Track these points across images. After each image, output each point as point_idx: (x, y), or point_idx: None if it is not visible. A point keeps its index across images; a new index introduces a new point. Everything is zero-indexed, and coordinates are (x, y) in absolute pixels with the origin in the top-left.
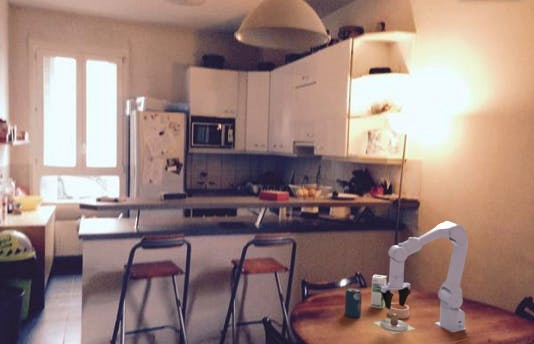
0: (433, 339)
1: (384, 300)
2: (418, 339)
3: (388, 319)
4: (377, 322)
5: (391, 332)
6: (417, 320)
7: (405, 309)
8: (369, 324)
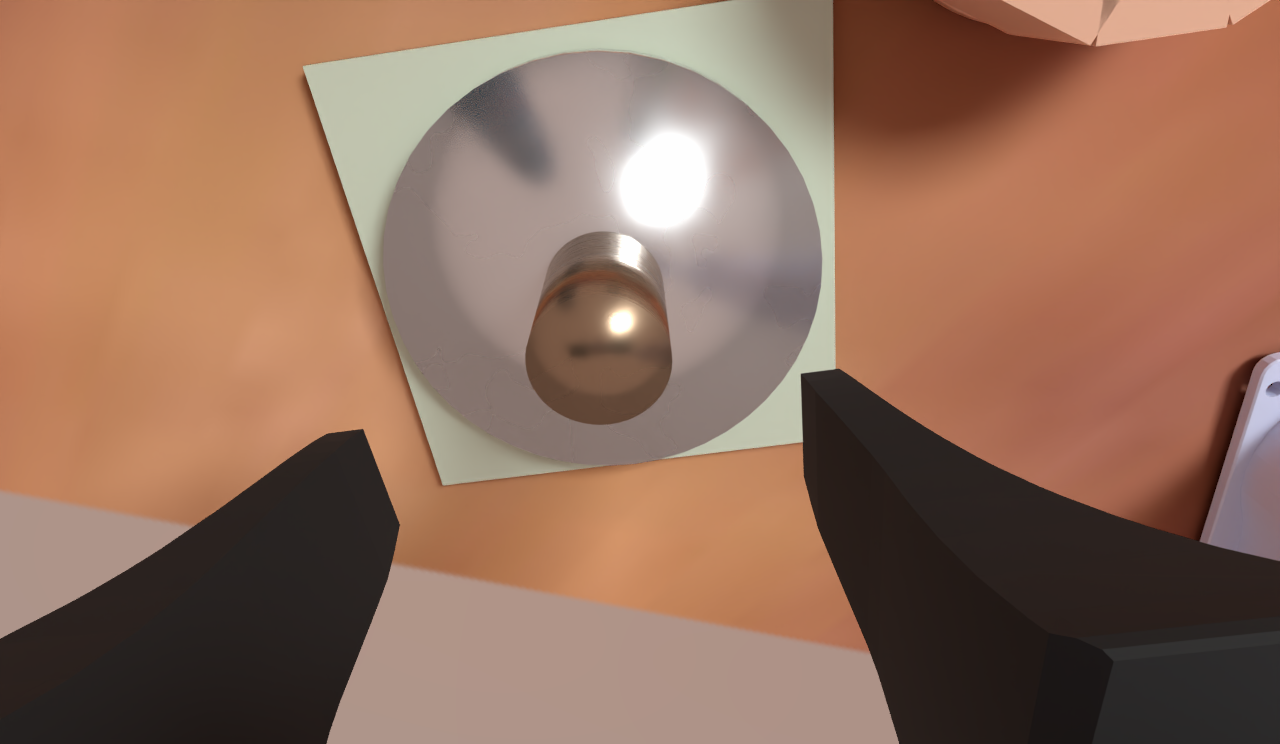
0: (829, 645)
1: (188, 551)
2: (671, 615)
3: (622, 91)
4: (389, 80)
5: (438, 448)
6: (1173, 154)
7: (1171, 10)
8: (226, 79)
